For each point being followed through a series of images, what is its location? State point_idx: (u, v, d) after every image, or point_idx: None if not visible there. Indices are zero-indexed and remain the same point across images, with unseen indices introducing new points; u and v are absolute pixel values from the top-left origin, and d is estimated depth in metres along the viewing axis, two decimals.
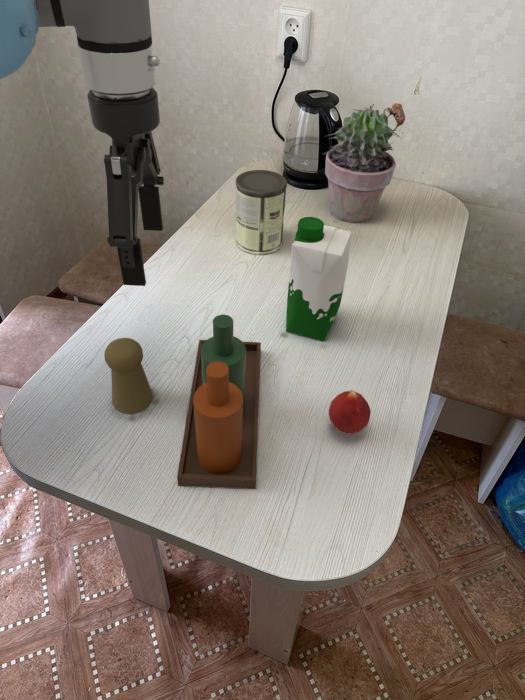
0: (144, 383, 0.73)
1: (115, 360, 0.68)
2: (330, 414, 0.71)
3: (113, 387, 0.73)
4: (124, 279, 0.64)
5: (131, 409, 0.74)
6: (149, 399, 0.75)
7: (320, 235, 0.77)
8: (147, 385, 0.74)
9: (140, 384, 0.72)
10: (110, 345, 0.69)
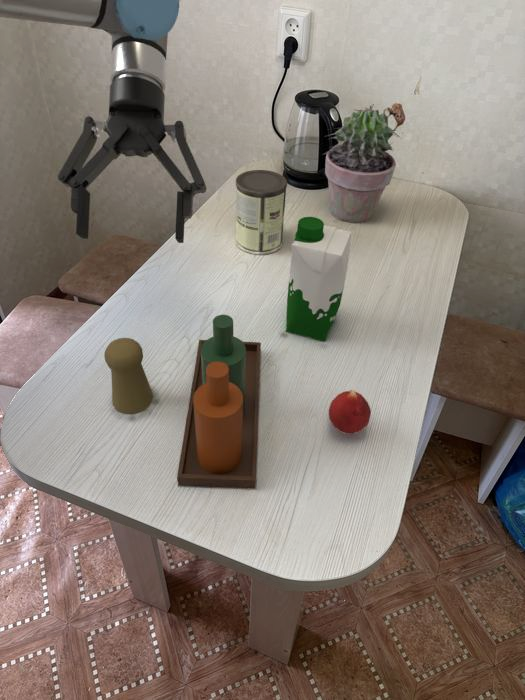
0: (144, 383, 0.73)
1: (115, 360, 0.68)
2: (330, 414, 0.71)
3: (113, 387, 0.73)
4: (181, 232, 0.70)
5: (131, 409, 0.74)
6: (149, 399, 0.75)
7: (320, 235, 0.77)
8: (147, 385, 0.74)
9: (140, 384, 0.72)
10: (110, 345, 0.69)
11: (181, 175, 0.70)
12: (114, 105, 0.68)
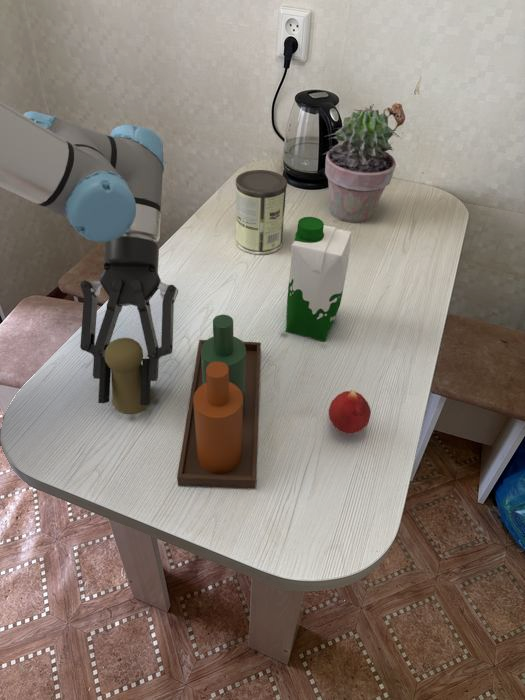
0: None
1: (115, 360, 0.68)
2: (330, 414, 0.71)
3: (113, 387, 0.73)
4: (146, 398, 0.71)
5: (131, 409, 0.74)
6: None
7: (320, 235, 0.77)
8: None
9: (140, 384, 0.72)
10: (110, 345, 0.69)
11: (152, 341, 0.71)
12: (109, 262, 0.70)
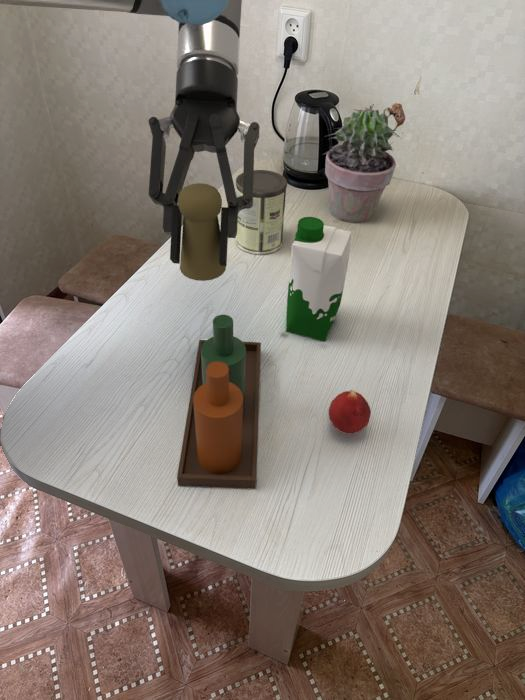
0: None
1: (192, 202, 0.58)
2: (330, 414, 0.71)
3: (184, 246, 0.62)
4: (225, 254, 0.60)
5: (204, 274, 0.64)
6: (223, 266, 0.65)
7: (320, 235, 0.77)
8: None
9: (216, 241, 0.62)
10: (185, 188, 0.59)
11: (232, 187, 0.61)
12: (183, 92, 0.59)
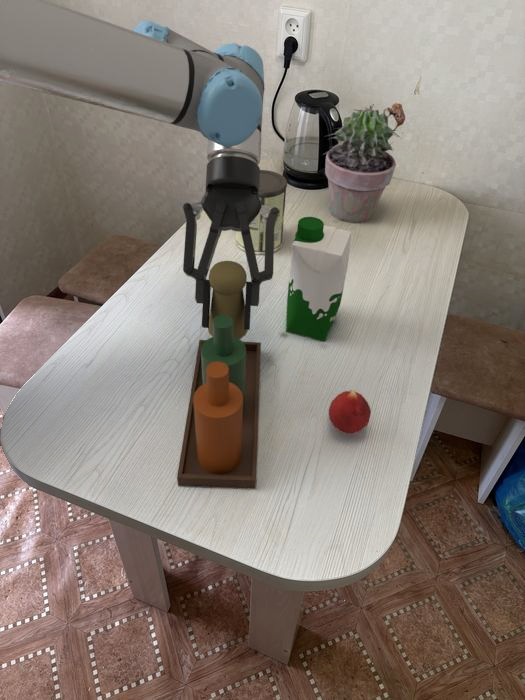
0: (244, 309, 0.72)
1: (222, 280, 0.67)
2: (330, 414, 0.71)
3: (213, 313, 0.72)
4: (249, 322, 0.70)
5: None
6: None
7: (320, 235, 0.77)
8: None
9: (241, 309, 0.71)
10: (215, 266, 0.68)
11: (255, 264, 0.70)
12: (213, 183, 0.69)
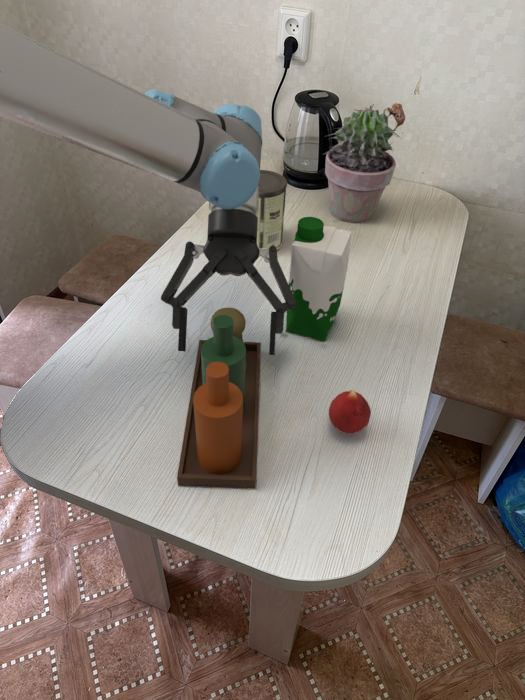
0: None
1: None
2: (330, 414, 0.71)
3: None
4: (274, 349, 0.75)
5: None
6: None
7: (320, 235, 0.77)
8: None
9: None
10: (216, 313, 0.74)
11: (275, 296, 0.75)
12: (215, 233, 0.74)
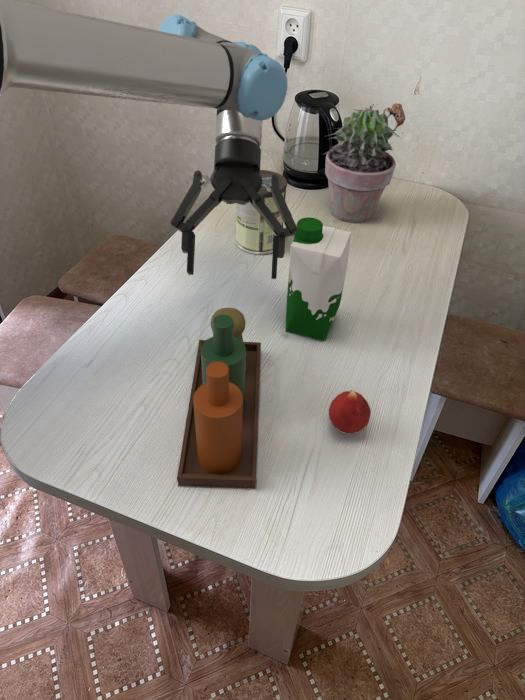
0: None
1: None
2: (330, 414, 0.71)
3: None
4: (276, 271, 0.81)
5: None
6: None
7: (319, 236, 0.77)
8: None
9: None
10: (216, 313, 0.74)
11: (277, 221, 0.81)
12: (221, 162, 0.80)
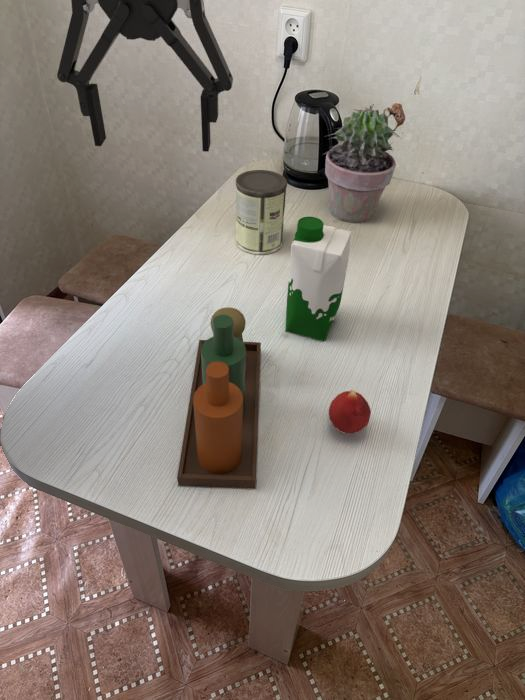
0: None
1: None
2: (330, 414, 0.71)
3: None
4: (208, 144, 0.64)
5: None
6: None
7: (320, 235, 0.77)
8: None
9: None
10: (216, 313, 0.74)
11: (203, 75, 0.58)
12: None
